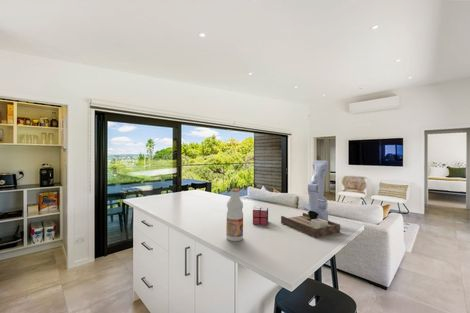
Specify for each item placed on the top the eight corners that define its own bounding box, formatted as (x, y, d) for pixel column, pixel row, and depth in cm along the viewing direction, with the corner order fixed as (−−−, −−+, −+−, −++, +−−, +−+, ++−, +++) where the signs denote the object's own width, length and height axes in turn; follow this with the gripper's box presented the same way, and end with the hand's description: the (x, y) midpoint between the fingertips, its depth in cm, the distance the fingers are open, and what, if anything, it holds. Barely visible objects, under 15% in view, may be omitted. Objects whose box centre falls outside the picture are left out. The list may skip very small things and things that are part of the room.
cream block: (318, 224, 144) (318, 218, 144) (327, 227, 138) (327, 221, 138) (310, 225, 141) (310, 219, 141) (319, 229, 134) (319, 222, 134)
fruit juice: (224, 236, 130) (225, 188, 130) (240, 235, 132) (241, 187, 132) (228, 242, 121) (228, 190, 120) (244, 240, 123) (245, 190, 123)
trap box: (303, 219, 166) (303, 212, 166) (339, 232, 138) (340, 224, 138) (281, 223, 156) (281, 215, 156) (315, 237, 128) (315, 229, 128)
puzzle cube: (267, 225, 151) (267, 210, 151) (252, 224, 153) (252, 209, 153) (268, 221, 161) (268, 207, 161) (254, 220, 163) (254, 206, 163)
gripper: (300, 200, 148) (300, 220, 148) (317, 204, 135) (317, 227, 135) (308, 199, 151) (308, 219, 151) (325, 203, 138) (325, 225, 138)
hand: (313, 223), depth 144 cm, fingers closed
